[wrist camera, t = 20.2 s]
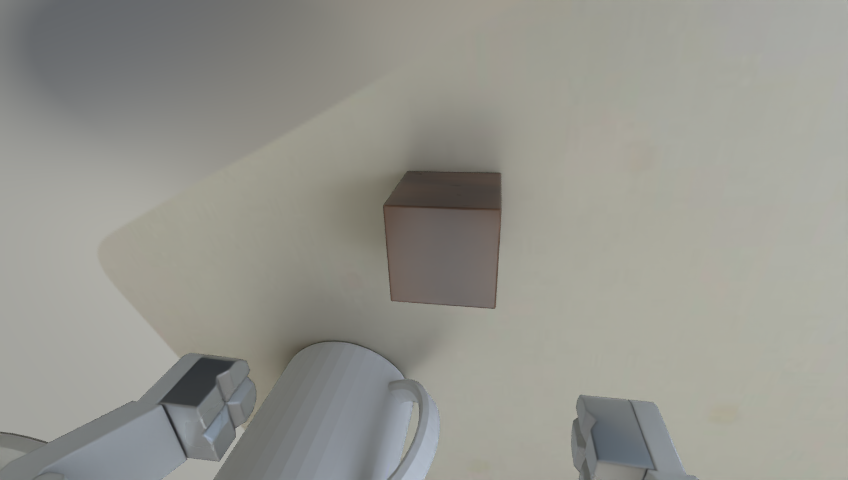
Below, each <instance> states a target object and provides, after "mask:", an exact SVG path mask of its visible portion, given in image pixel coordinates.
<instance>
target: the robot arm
mask: <svg viewBox="0 0 848 480" xmlns="http://www.w3.org/2000/svg"><path fill="white" fill-rule="evenodd" d="M249 372H250V369H249V366H248V363H247V361H246V360H242V359H236V358H229V357H221V356H214V355H204V354H197V353H189V354H186V355H184V356H183V357H182V358H181V359H180V360H179V361H178V362H177V363H176V364H175V365H174V366H173V367H172V368H171V369H170V370H169V371H168V372H167V373H166V374H165V375H164V376H163V377H162V378H161V379H160V380H159V381H158V382H157V383H156V384H155V385H154V386H153V387H152V388H151V389H150V390H148V391H147V392H146V394H145V395H143V397H141V398H140V400H138V401H137V402H136V401H131V402H129V403H127V404H125V405H123V406H121V407H119V408H117V409H115V410H113V411H111V412H109V413H107V414H105V415H103V416H101V417H99V418H97V419H95V420H93V421H91V422H89V423H87V424H85V425H83V426H81V427H79V428H77V429H75V430H73V431H71V432H69V433H67V434H65V435H63V436H61V437H59V438H57V439H55V440H53V441H51V442H49V443H47V444H45V445H43V446H41V447H39V448H37V449H35V450H33V451H31V452H29V453H27V454H25V455H23V456H21V457H19V458H17V459H15V460H13V461H11V462H9V463H8V464H7V465H6V466H5V467H4V468H2V469H1V470H0V480H161V479H163V478H164V477H165V476H167V475H168V474H169V473H170V472H172V471H173V470H175V469H176V468H177V467H178V466H180V465H181V464H182V463H184V462H185V461H186V460H187V458H194V459H202V460H210V461H218V462H219V461H220V460H221V458H222V457H223V455H224V454H225V452H226V451H227V449H228V448H229V446H230V445H231V443H232V442H233V440H234V439H235V437H236V433H235V428H237V427H238V426H240V425H241V424H243V423H244V422H246V421H247V419H248V417H249V416H250V414H251V413H252V411H253V408H254V405H255V402H256V388H255V384H254V383H253V382H252V381H251V380H250V379H249V378H248V377H247V375H248V373H249ZM576 409H577V415H578V418H576V419H575V420H574V421H573V426H572V435H571V447H572V456H573V463H574V466H575V467H576V469H577V470H578V471H579V472H580V476H579V480H699V479H698V478H697V477H696V476H692V475H687V474H686V472H685V470H684V467H683V465H682V463H681V460H680V458H679V456H678V453H677V451H676V449H675V446H674V444H673V442H672V439H671V437H670V435H669V432H668V430H667V428H666V425H665V423H664V421H663V418H662V416H661V414H660V411H659V409H658V407H657V406H656V405H655V404H654V402H647V401H637V400H626V399H618V398H607V397H597V396H586V395H580V396H579V397H578V400H577V405H576Z"/></svg>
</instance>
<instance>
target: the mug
mask: <svg viewBox="0 0 848 480" xmlns="http://www.w3.org/2000/svg"><path fill="white" fill-rule="evenodd" d="M412 401H413V402H417V403H418V404H419V421H418V427H417V431H416V434H415V437H414V439H413V442H412V444H411V446H410V448H409V450H408V452H407V453H406V455H405V457H404V458H403V460H402V461H401V463H400V459H401V455H402V451H403V446H404V442H405V438H406V434H407V429H408V425H409V421H410V417H411V412H412V407H413V402H412ZM439 431H440V417H439V412H438V408H437V406H436V403H435V402H434V401H433V399H432V398H431V396H430V395H429V394H428V393H427V391H426V390H425V389H424V387H423V386H422V385H421V384H420V383H419V382H417V381H415V380H410V379H405V378H404V377H403V375H402V374H401V373H400V372H399V370H398V369H397V368H396V367H395V366H394V365H393V364H391V363H390V362H389V361H388V360H387V359H385V358H384V357H382V356H381V355H379V354H377V353H375V352H373V351H371V350H369V349H367V348H364V347H361V346H359V345H355V344H351V343H345V342H323V343H317V344H314V345H311V346H308V347H307V348H305V349H303V350H301V351H300V352H298V353H297V354H296V355H295V356H294V357H293V358H292V360H291V361H290V362H289V364H288V366H287V367H286V369H285V370H284V372H283V373H282V375H281V376H280V378H279V379H278V381H277V382H276V384H275V386H274V387H273V389H272V390H271V392H270V393H269V395H268V396H267V398H266V399H265V401H264V402H263V404H262V406H261V407H260V409H259V410H258V412H257V413H256V415H255V416H254V418H253V419H252V421H251V422H250V424H249V426H248V427H247V429H246V430H245V432H244V433H243V435H242V436H241V438H240V440H239V441H238V443H237V444H236V446H235V447H234V449H233V450H232V452H231V453H230V455H229V456H228V458H227V460H226V461H225V463H224V464H223V466H222V467H221V469H220V470H219V472H218V473H217V475H216V476H215V478H214V480H424V478H425V476H426V474H427V472H428V470H429V467H430V465H431V463H432V460H433V458H434V455H435V451H436V448H437V444H438V439H439ZM399 463H400V464H399Z"/></svg>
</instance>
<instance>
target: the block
mask: <svg viewBox="0 0 848 480" xmlns="http://www.w3.org/2000/svg"><path fill="white" fill-rule="evenodd" d="M383 210H384V222H385V234H386V246H387V258H388V270H389V282H390V294H391V301H398V302H412V303H425V304H438V305H452V306H465V307H478V308H492V309H495V307H496V293H497V276H498V260H499V243H500V226H501V173H468V172H418V171H407V172H406V174H405V175H404V177H403V178H402V179H401V181H400V182H399V184H398V185H397V187H396V188H395V189H394V191H393V192H392V194H391V195H390V197H389V198H388V199H387V201H386V202H385V204H384V205H383Z"/></svg>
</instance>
